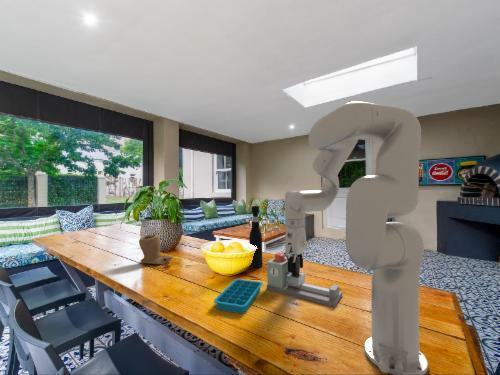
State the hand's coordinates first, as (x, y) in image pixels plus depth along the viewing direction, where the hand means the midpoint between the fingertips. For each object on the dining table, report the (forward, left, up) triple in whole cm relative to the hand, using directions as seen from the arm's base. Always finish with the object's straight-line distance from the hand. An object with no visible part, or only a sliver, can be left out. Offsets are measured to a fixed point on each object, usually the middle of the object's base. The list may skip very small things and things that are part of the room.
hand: (295, 269), depth 93 cm
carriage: (0, 0, -6) cm, 6 cm away
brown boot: (-10, +76, -8) cm, 77 cm away
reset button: (0, +7, -1) cm, 7 cm away
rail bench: (0, -3, -8) cm, 9 cm away
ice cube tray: (-17, +14, -9) cm, 24 cm away
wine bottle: (+15, +28, -8) cm, 33 cm away
